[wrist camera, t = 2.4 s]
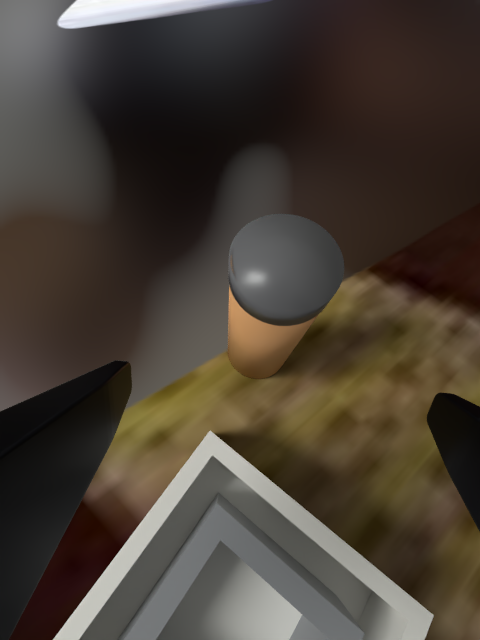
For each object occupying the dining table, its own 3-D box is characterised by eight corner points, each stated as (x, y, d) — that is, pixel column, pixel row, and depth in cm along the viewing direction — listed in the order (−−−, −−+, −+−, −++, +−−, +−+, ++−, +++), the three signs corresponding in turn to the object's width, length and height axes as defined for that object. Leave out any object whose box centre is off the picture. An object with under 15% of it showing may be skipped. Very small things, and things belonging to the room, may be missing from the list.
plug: (297, 345, 21) (364, 252, 11) (263, 392, 20) (304, 336, 10) (250, 311, 22) (272, 196, 12) (214, 355, 21) (204, 267, 11)
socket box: (387, 577, 16) (436, 617, 13) (256, 871, 13) (270, 1062, 9) (212, 433, 19) (209, 430, 15) (57, 643, 15) (-3, 713, 11)
